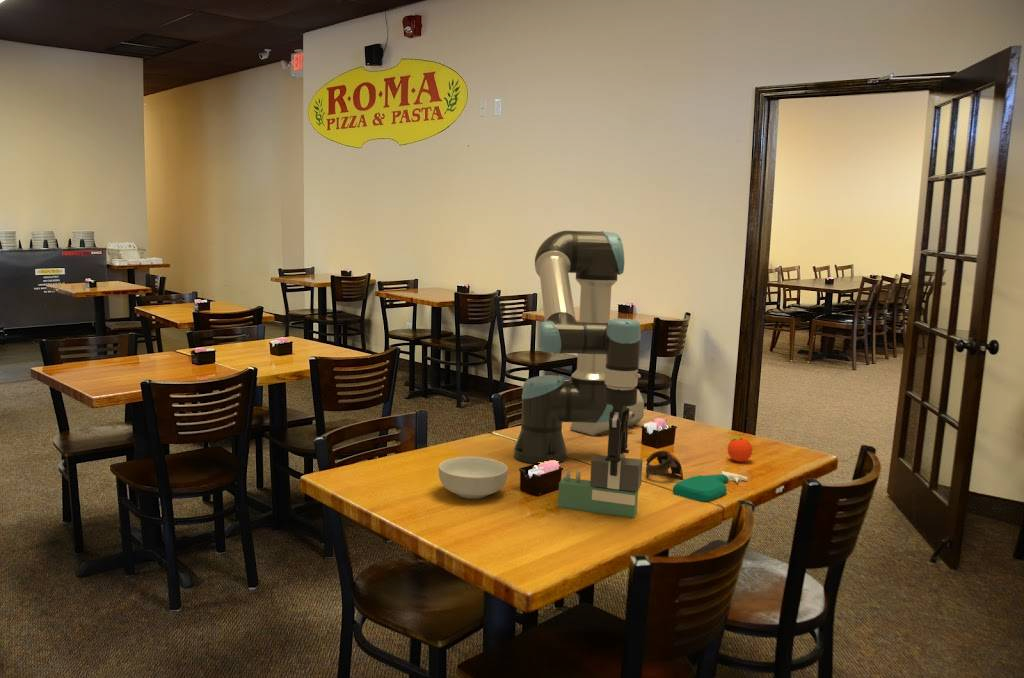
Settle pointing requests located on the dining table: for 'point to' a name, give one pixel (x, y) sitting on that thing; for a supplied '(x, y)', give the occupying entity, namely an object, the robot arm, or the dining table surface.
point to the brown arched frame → (663, 464)
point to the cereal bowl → (472, 476)
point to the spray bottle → (706, 486)
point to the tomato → (739, 449)
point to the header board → (595, 497)
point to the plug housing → (628, 473)
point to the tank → (599, 428)
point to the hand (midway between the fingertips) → (615, 484)
